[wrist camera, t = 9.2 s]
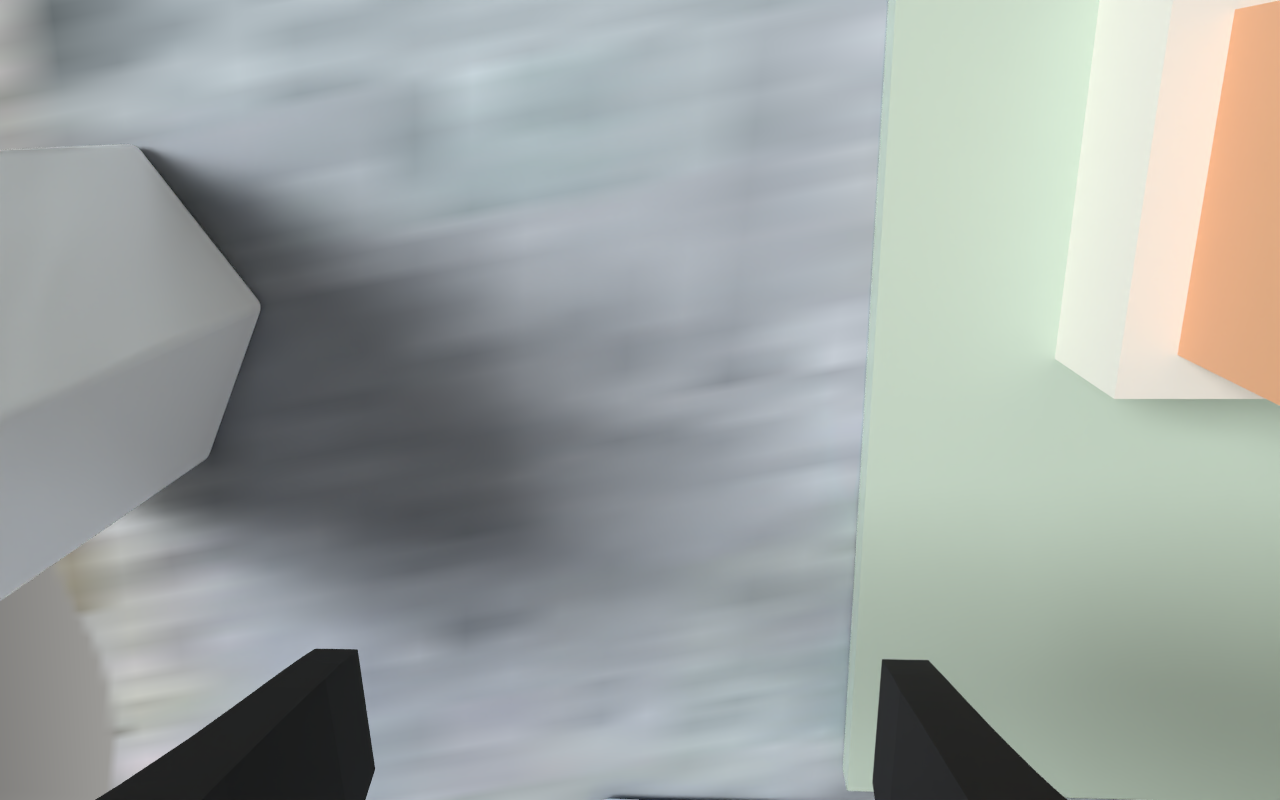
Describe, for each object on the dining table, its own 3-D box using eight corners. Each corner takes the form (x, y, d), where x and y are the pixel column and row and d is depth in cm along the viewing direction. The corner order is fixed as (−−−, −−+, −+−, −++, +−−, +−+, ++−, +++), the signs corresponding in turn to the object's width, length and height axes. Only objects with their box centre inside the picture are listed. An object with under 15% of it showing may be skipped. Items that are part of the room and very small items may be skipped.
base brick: (1335, 358, 19) (1444, 398, 17) (1054, 358, 20) (1114, 398, 17) (1425, -44, 17) (1571, -77, 14) (1103, -34, 17) (1181, -63, 15)
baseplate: (1455, 787, 23) (1480, 810, 23) (842, 770, 25) (847, 791, 24) (1752, -165, 17) (1802, -178, 16) (896, -130, 18) (904, -141, 17)
